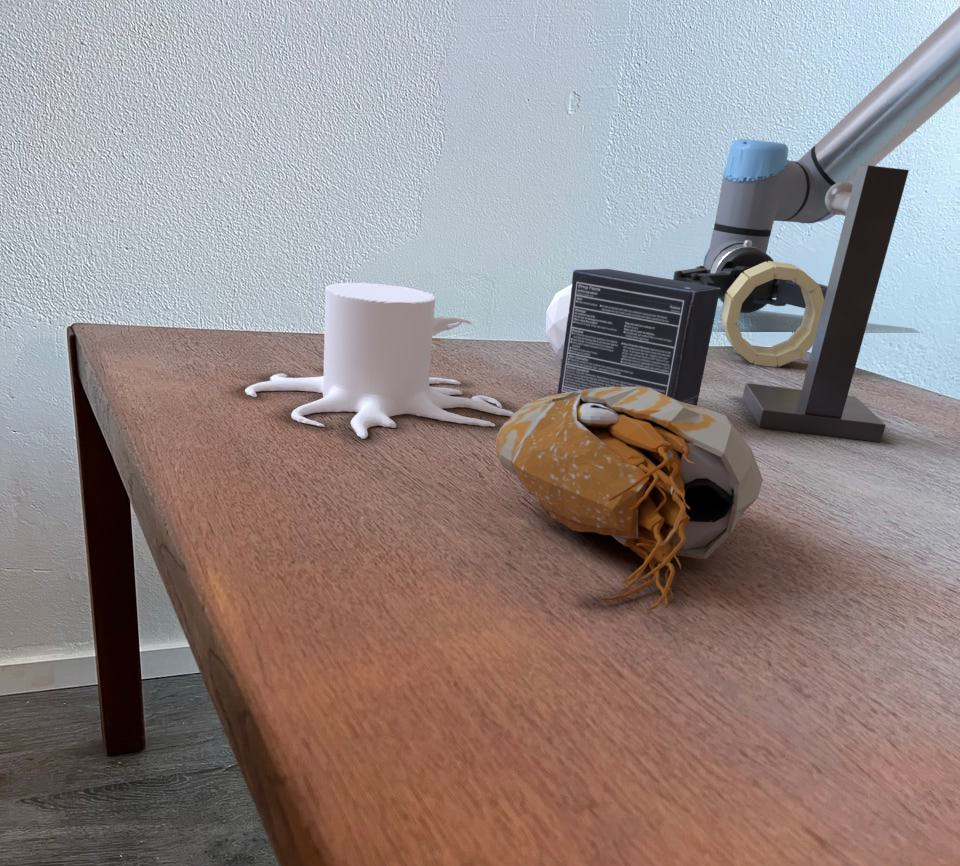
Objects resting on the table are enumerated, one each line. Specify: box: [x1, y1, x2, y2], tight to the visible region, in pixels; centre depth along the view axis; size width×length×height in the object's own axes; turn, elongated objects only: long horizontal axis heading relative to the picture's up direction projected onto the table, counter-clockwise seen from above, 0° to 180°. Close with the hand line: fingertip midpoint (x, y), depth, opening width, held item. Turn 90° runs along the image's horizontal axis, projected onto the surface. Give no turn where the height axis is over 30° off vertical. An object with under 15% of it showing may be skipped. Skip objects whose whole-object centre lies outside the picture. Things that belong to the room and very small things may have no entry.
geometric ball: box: [544, 283, 572, 358], centre depth 96 cm, size 8×8×8 cm
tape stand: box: [741, 164, 910, 443], centre depth 83 cm, size 10×14×20 cm
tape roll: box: [720, 261, 824, 368], centre depth 105 cm, size 10×5×10 cm, turn 85°
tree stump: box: [244, 282, 515, 440], centre depth 75 cm, size 20×19×8 cm
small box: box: [556, 268, 720, 406], centre depth 80 cm, size 11×6×10 cm, turn 58°
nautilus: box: [494, 387, 764, 611], centre depth 53 cm, size 8×22×15 cm
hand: (771, 303), depth 106 cm, fingers open, 13 cm apart
